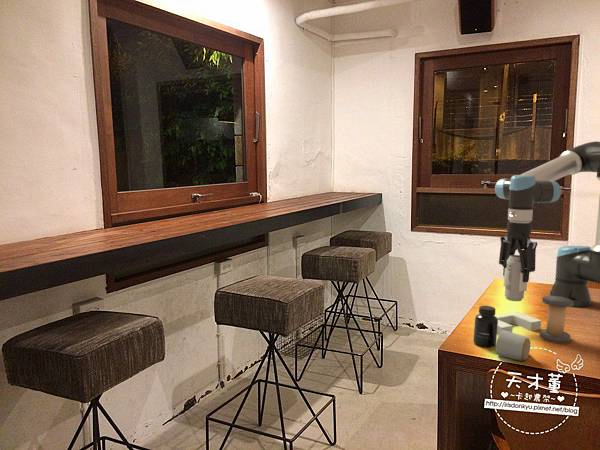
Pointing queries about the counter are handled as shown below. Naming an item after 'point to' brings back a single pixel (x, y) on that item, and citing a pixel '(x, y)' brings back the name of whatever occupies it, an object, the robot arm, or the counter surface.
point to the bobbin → (556, 319)
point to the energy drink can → (513, 279)
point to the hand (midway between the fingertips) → (514, 288)
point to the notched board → (517, 322)
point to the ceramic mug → (512, 345)
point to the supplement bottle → (485, 327)
